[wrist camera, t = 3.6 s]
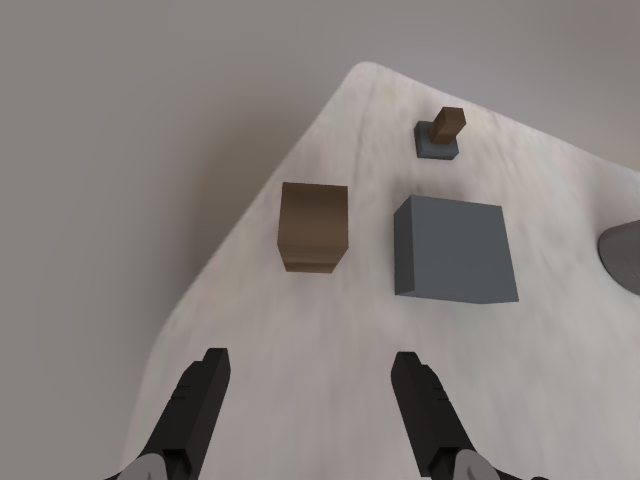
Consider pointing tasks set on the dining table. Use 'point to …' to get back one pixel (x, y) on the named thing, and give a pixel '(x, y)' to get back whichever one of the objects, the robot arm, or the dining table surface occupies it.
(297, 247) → the walnut block
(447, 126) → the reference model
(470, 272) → the slate base block
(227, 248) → the dining table surface
